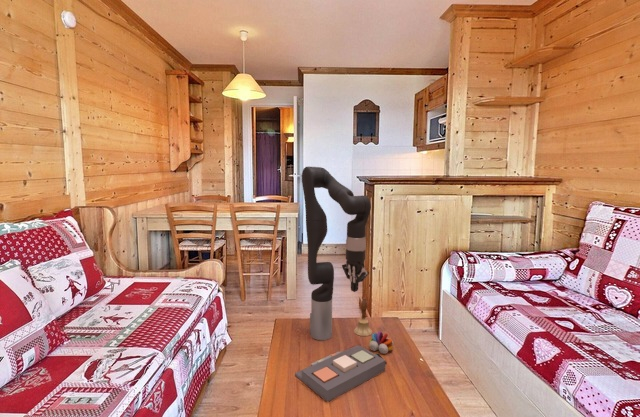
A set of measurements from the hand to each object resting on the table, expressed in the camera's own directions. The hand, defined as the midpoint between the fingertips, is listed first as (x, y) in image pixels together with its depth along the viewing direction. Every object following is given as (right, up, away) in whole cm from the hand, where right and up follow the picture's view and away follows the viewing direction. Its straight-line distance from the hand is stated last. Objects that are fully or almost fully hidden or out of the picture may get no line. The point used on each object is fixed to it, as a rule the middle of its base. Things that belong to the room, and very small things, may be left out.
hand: (354, 290), depth 136 cm
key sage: (+2, -26, -5) cm, 26 cm away
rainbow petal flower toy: (+12, -26, +8) cm, 30 cm away
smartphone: (+4, -28, -2) cm, 28 cm away
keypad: (-6, -28, -9) cm, 30 cm away
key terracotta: (-12, -27, -16) cm, 33 cm away
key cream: (-5, -25, -11) cm, 28 cm away
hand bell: (+6, -24, +23) cm, 34 cm away
